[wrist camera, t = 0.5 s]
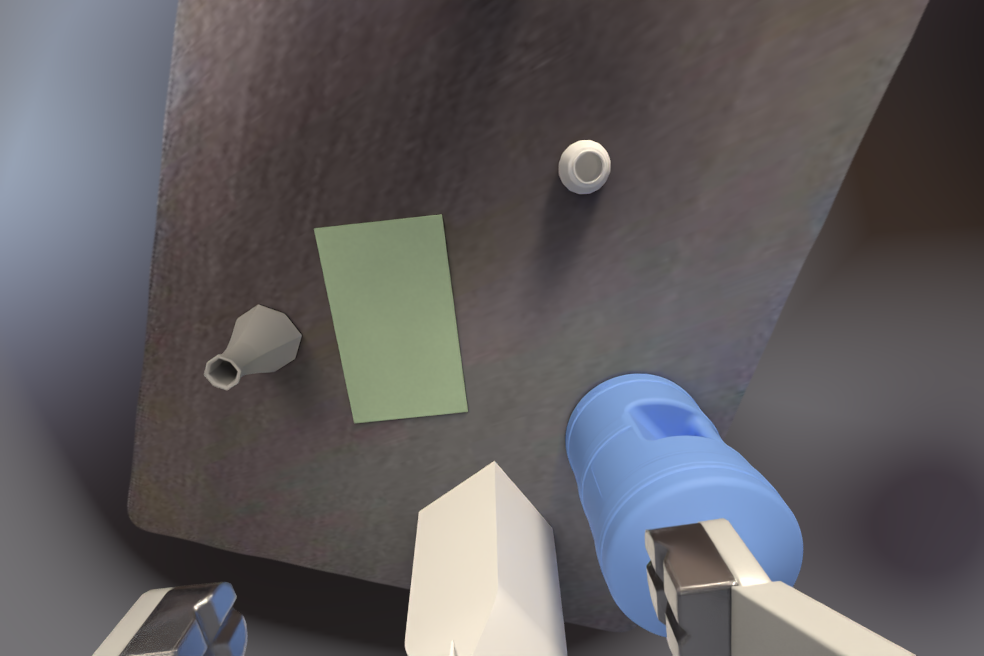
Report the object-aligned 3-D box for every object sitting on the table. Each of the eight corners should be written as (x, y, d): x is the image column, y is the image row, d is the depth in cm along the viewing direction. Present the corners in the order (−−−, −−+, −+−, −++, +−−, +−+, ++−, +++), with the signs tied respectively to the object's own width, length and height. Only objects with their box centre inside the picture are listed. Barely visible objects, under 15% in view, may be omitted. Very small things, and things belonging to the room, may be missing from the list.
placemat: (315, 228, 52) (313, 228, 51) (441, 214, 51) (441, 214, 51) (355, 421, 58) (354, 423, 58) (467, 410, 58) (467, 411, 57)
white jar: (616, 180, 51) (597, 131, 49) (623, 180, 48) (604, 129, 46) (569, 202, 51) (550, 154, 50) (574, 203, 48) (554, 153, 47)
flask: (256, 292, 53) (207, 318, 44) (314, 333, 55) (278, 367, 45) (220, 342, 55) (165, 378, 45) (278, 381, 56) (236, 424, 47)
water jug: (622, 513, 62) (726, 771, 36) (536, 431, 59) (579, 649, 32) (725, 434, 59) (923, 650, 32) (641, 342, 56) (785, 501, 29)
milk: (552, 528, 63) (597, 762, 38) (479, 574, 65) (475, 826, 40) (494, 460, 60) (501, 666, 35) (419, 511, 62) (375, 740, 37)
